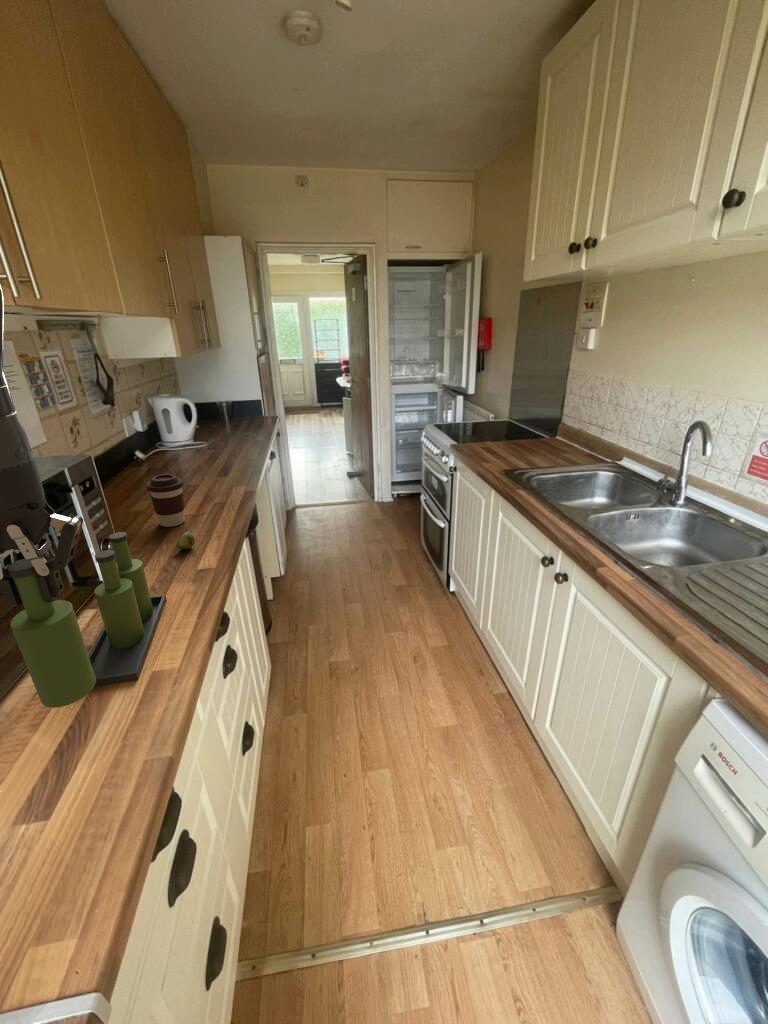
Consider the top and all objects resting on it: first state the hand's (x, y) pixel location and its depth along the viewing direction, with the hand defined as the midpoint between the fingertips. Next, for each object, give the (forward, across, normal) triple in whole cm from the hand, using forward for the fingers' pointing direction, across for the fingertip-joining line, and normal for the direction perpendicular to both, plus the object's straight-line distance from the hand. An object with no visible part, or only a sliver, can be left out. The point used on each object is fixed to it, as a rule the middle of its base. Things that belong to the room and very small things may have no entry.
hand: (36, 599), depth 50 cm
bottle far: (+27, +2, -34) cm, 43 cm away
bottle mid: (+27, +2, -26) cm, 38 cm away
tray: (+28, +2, -26) cm, 38 cm away
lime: (+28, -3, -64) cm, 70 cm away
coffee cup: (+28, +4, -83) cm, 88 cm away
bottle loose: (+14, 0, 0) cm, 14 cm away
